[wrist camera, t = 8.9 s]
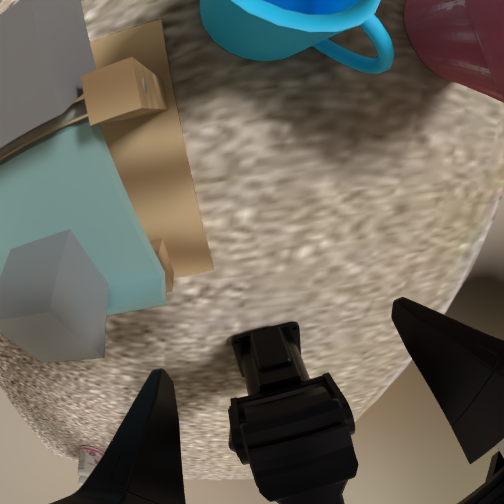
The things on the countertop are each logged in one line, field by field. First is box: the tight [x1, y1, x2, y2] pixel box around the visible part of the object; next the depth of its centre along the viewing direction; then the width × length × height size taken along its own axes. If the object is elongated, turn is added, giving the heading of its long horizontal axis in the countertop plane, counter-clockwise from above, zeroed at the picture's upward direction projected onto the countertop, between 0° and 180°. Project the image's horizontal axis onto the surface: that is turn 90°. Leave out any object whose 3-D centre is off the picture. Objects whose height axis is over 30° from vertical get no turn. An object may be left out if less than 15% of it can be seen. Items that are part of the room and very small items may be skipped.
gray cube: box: [0, 229, 109, 362], centre depth 13 cm, size 5×5×5 cm
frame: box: [0, 19, 214, 292], centre depth 13 cm, size 18×18×9 cm
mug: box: [200, 0, 395, 74], centre depth 11 cm, size 12×8×8 cm
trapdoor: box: [0, 0, 166, 316], centre depth 11 cm, size 17×12×5 cm
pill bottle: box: [78, 446, 104, 485], centre depth 33 cm, size 5×5×8 cm
